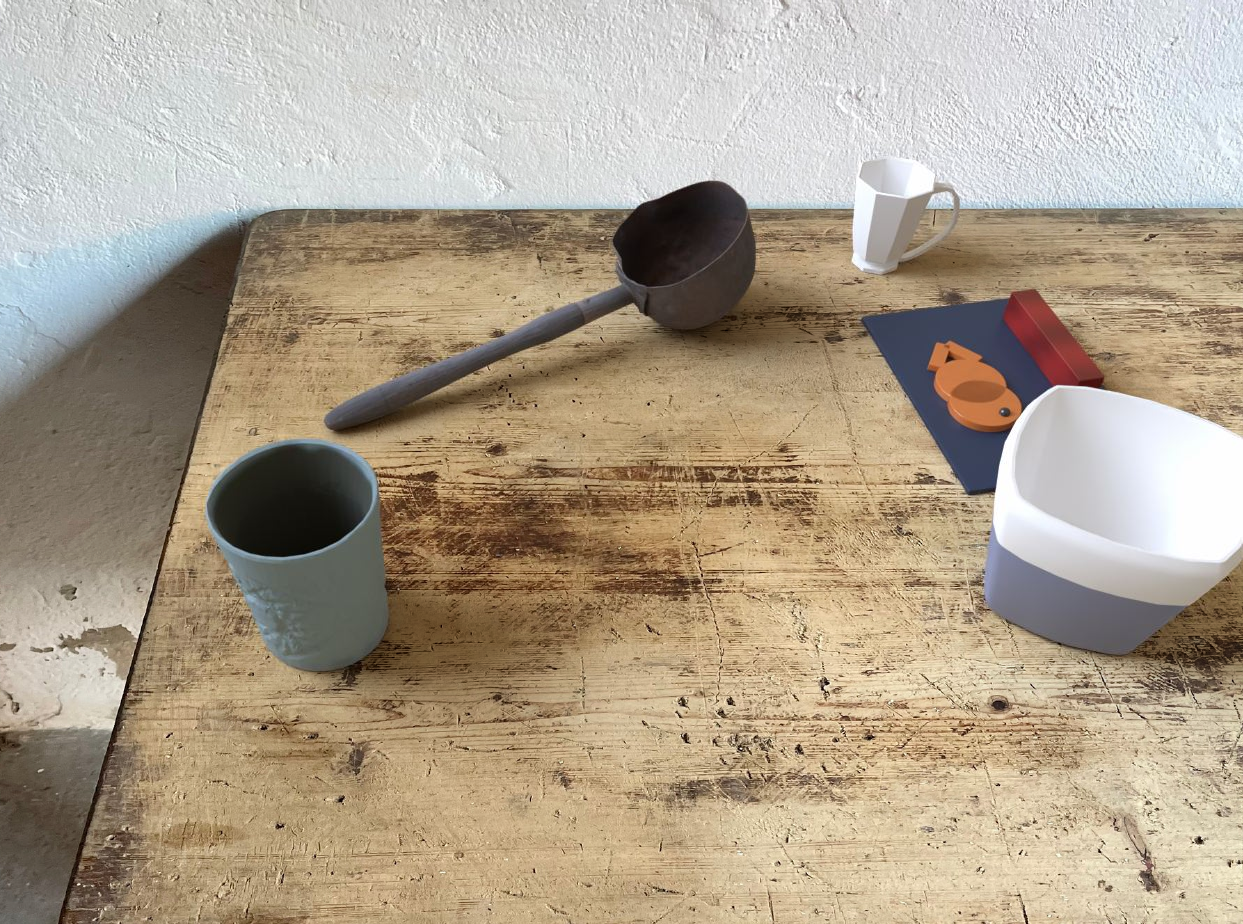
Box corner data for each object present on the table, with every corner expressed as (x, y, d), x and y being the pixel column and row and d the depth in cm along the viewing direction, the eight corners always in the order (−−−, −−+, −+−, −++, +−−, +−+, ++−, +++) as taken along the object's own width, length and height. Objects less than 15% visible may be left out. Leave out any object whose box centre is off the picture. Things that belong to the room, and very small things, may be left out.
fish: (910, 351, 93) (913, 339, 92) (972, 343, 94) (976, 331, 93) (964, 437, 87) (969, 425, 86) (1031, 427, 88) (1036, 416, 87)
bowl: (984, 484, 84) (1035, 362, 75) (1197, 551, 80) (1277, 431, 71) (931, 625, 76) (981, 506, 67) (1165, 707, 72) (1252, 593, 63)
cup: (828, 241, 104) (846, 156, 97) (932, 235, 104) (957, 151, 98) (846, 285, 99) (867, 200, 93) (955, 279, 100) (983, 194, 94)
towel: (1031, 298, 99) (1033, 294, 98) (1161, 466, 86) (1164, 462, 85) (860, 320, 96) (861, 316, 96) (967, 495, 84) (969, 491, 83)
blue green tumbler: (394, 561, 79) (372, 429, 69) (407, 674, 73) (384, 546, 63) (248, 579, 78) (205, 447, 68) (249, 694, 72) (202, 568, 62)
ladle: (790, 304, 94) (776, 198, 86) (402, 547, 90) (350, 460, 82) (712, 247, 101) (693, 145, 93) (350, 471, 97) (297, 384, 89)
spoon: (985, 319, 96) (995, 293, 94) (1041, 312, 97) (1051, 286, 95) (1081, 452, 86) (1094, 425, 84) (1142, 442, 87) (1157, 416, 85)
